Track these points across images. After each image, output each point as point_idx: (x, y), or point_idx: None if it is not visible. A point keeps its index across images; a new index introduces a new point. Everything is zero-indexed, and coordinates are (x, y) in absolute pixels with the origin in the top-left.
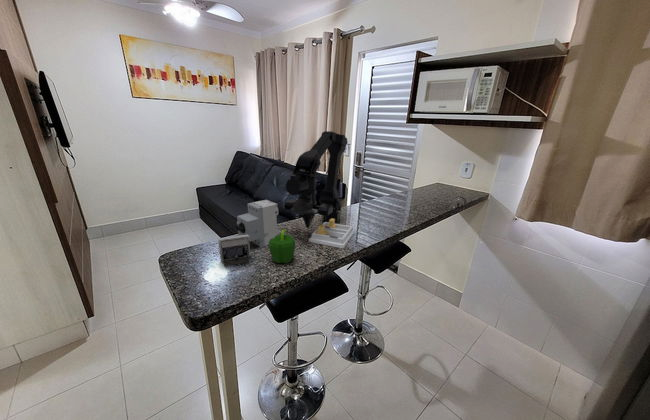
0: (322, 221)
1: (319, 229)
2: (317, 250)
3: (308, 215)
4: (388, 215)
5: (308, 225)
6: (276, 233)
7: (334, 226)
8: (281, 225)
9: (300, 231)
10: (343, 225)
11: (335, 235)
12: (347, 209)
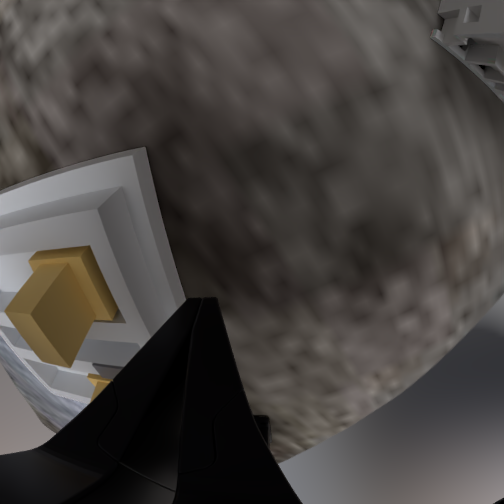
0: (262, 421)
1: (38, 289)
2: (18, 71)
3: (39, 484)
4: None
5: (170, 321)
6: (494, 7)
7: (95, 385)
8: (485, 303)
9: (343, 293)
10: (83, 399)
11: None
12: None
